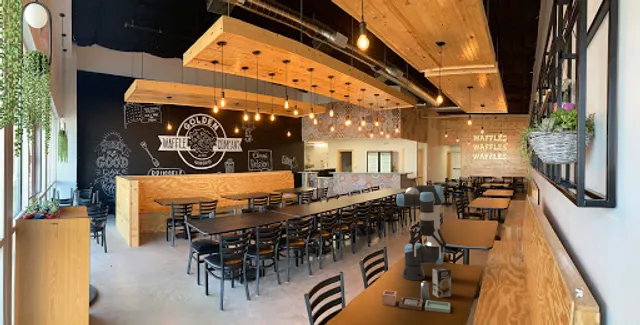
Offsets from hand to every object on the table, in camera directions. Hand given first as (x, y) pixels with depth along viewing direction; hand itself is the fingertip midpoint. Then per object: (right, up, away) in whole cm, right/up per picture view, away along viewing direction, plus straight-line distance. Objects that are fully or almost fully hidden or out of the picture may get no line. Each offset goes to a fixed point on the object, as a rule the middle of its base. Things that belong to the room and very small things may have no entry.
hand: (427, 257), depth 210 cm
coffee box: (+13, -28, +16) cm, 34 cm away
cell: (+1, -28, +7) cm, 28 cm away
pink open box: (-21, -28, +5) cm, 35 cm away
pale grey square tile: (-9, -27, +2) cm, 28 cm away
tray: (+5, -28, -3) cm, 28 cm away
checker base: (-9, -28, +2) cm, 29 cm away
